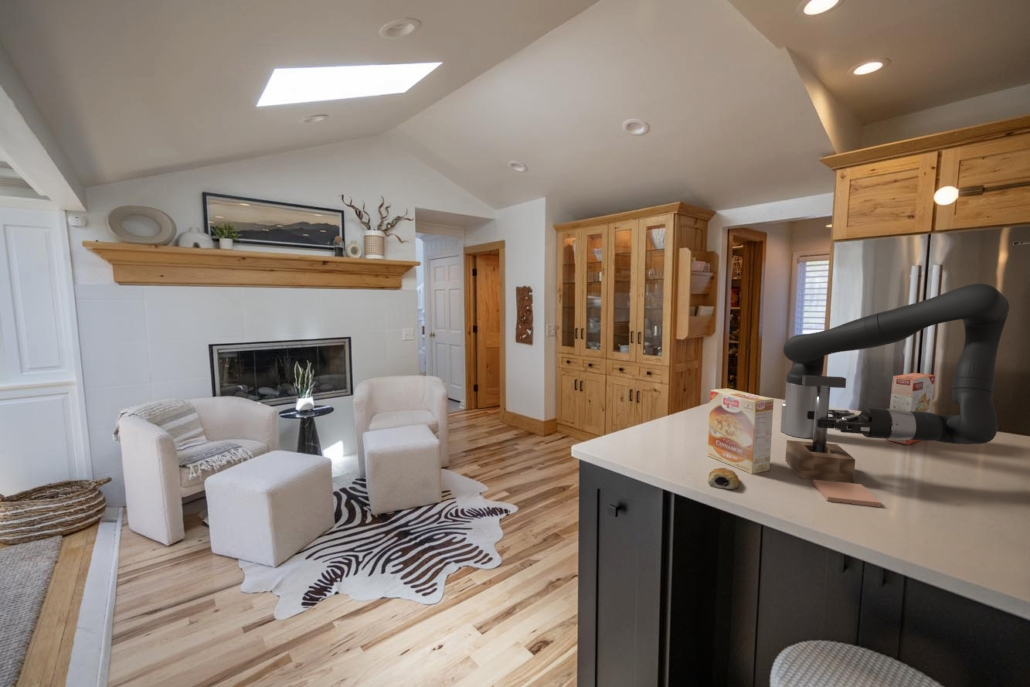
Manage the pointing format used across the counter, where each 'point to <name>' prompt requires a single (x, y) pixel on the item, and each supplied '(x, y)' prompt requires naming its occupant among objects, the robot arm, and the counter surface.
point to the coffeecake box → (740, 429)
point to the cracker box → (912, 395)
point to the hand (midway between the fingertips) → (811, 418)
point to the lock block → (820, 462)
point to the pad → (846, 493)
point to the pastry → (723, 479)
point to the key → (822, 405)
